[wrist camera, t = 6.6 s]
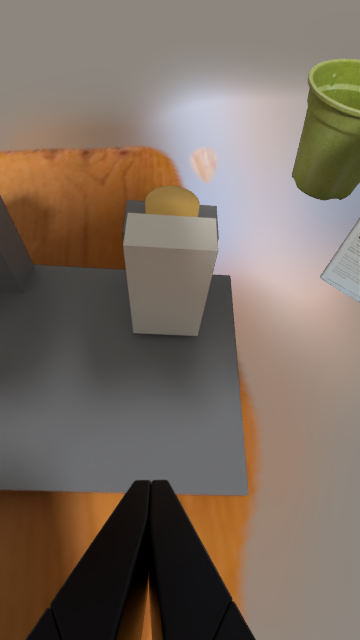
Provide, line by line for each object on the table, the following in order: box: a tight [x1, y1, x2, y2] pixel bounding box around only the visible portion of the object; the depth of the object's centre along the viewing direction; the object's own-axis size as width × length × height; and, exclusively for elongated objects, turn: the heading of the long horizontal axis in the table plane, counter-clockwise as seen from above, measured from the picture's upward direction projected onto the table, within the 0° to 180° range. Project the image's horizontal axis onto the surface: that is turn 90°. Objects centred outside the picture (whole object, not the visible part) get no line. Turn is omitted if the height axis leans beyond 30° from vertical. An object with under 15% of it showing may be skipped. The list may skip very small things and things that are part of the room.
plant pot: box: [292, 59, 360, 200], centre depth 29 cm, size 9×9×9 cm
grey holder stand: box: [0, 186, 248, 496], centre depth 17 cm, size 14×19×8 cm
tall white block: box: [123, 213, 218, 336], centre depth 17 cm, size 2×4×8 cm, turn 89°
